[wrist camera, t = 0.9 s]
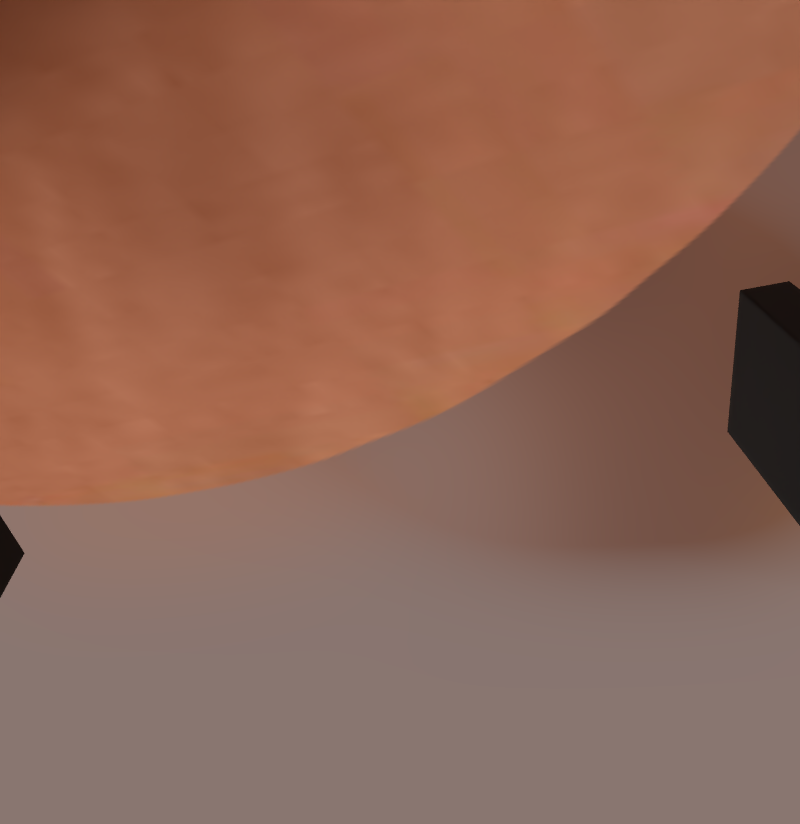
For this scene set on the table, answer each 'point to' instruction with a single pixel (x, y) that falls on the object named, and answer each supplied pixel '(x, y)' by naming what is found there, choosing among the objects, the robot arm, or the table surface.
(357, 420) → the table surface
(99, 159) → the table surface
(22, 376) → the table surface
